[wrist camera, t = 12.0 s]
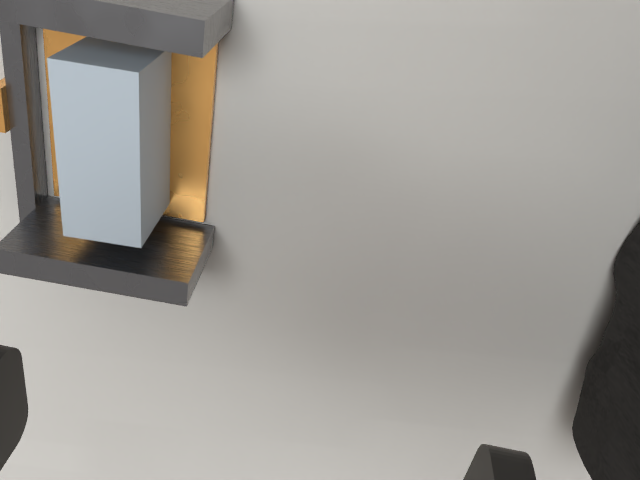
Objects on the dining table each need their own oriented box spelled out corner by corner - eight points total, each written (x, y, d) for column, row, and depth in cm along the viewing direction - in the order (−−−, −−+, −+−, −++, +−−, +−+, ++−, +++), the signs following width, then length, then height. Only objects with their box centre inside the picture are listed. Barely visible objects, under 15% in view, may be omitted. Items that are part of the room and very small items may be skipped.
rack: (-41, -427, 23) (-164, -519, 17) (265, -366, 23) (234, -439, 18) (23, 213, 37) (-35, 267, 32) (212, 247, 37) (186, 306, 32)
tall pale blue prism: (87, 32, 30) (41, 57, 26) (171, 45, 31) (138, 72, 26) (96, 192, 35) (58, 235, 31) (169, 203, 35) (141, 248, 31)
